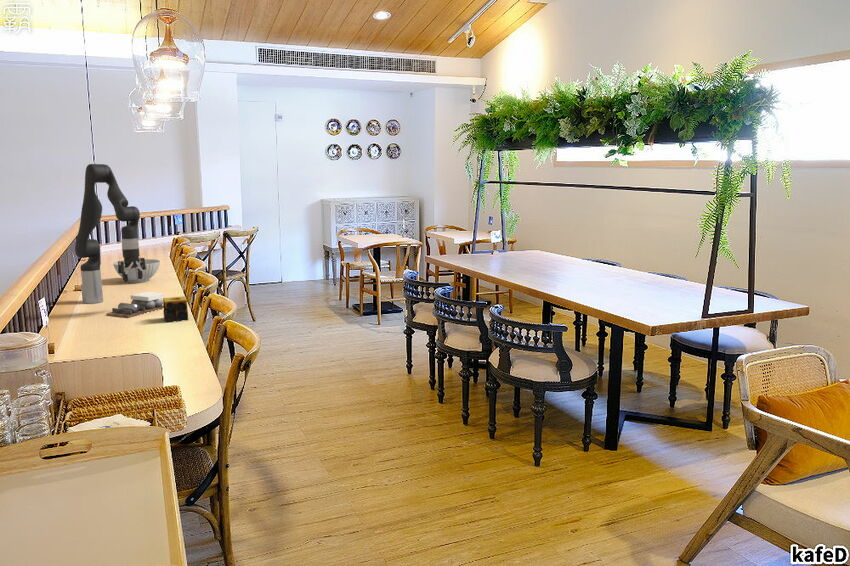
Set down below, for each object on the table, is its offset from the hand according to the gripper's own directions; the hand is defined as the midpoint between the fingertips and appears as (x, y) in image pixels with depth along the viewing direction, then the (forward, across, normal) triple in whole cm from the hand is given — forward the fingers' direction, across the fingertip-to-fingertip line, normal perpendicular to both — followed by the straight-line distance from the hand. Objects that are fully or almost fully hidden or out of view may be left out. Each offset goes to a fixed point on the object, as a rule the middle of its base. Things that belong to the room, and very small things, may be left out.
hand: (133, 280), depth 320 cm
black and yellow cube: (+16, +4, +30) cm, 35 cm away
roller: (+15, +4, 0) cm, 16 cm away
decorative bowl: (+16, -63, -69) cm, 95 cm away
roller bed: (+16, -1, 0) cm, 16 cm away
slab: (+10, -8, 0) cm, 13 cm away
